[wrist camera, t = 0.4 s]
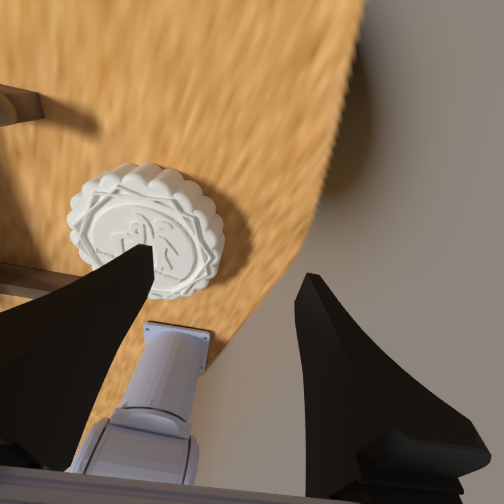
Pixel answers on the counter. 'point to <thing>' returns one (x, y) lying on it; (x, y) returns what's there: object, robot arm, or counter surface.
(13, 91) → the lid holder
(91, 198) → the mooncake
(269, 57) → the counter surface
